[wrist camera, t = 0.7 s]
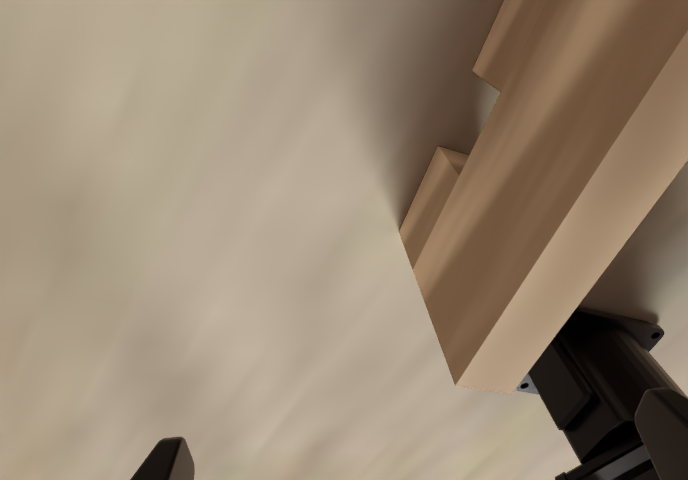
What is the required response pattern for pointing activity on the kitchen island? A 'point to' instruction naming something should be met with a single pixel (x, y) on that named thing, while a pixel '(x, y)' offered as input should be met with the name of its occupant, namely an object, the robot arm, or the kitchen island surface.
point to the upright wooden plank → (548, 176)
